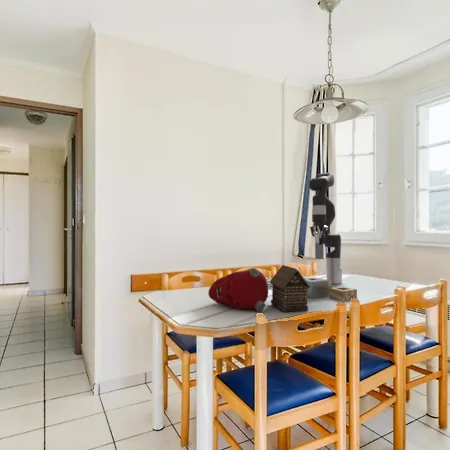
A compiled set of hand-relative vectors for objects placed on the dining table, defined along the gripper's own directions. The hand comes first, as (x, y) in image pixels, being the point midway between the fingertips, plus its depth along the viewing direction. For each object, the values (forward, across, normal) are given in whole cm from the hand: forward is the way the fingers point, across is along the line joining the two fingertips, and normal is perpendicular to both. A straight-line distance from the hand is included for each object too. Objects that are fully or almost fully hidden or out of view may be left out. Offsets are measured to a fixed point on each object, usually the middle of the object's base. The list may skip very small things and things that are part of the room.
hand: (319, 244), depth 191 cm
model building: (+29, -14, +30) cm, 44 cm away
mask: (+29, -1, +50) cm, 58 cm away
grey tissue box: (+29, +3, -2) cm, 29 cm away
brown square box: (+29, -10, -8) cm, 32 cm away
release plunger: (+28, +3, -8) cm, 29 cm away
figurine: (+30, +28, +2) cm, 41 cm away
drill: (+8, 0, 0) cm, 8 cm away
